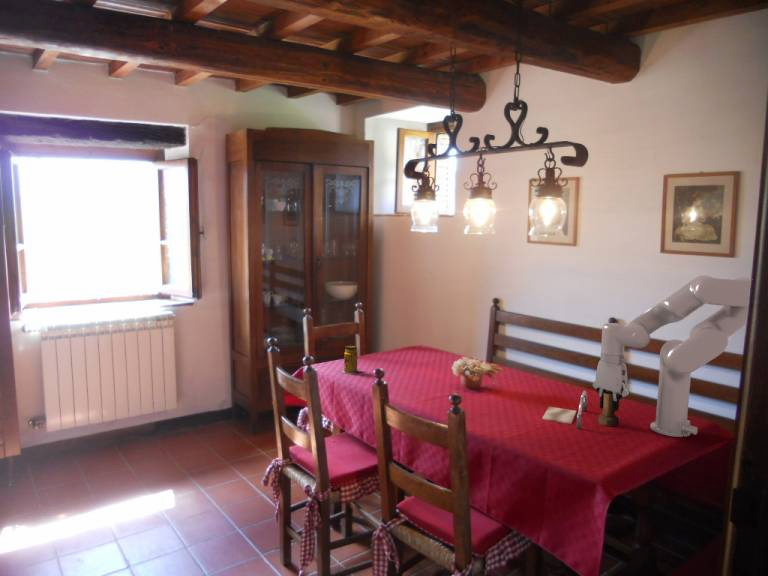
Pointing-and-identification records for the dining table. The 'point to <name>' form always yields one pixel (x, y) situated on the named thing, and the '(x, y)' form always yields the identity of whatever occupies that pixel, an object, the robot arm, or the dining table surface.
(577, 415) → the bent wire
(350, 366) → the condiment
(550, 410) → the birch board
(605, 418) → the mortar and pestle
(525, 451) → the dining table surface
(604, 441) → the dining table surface
